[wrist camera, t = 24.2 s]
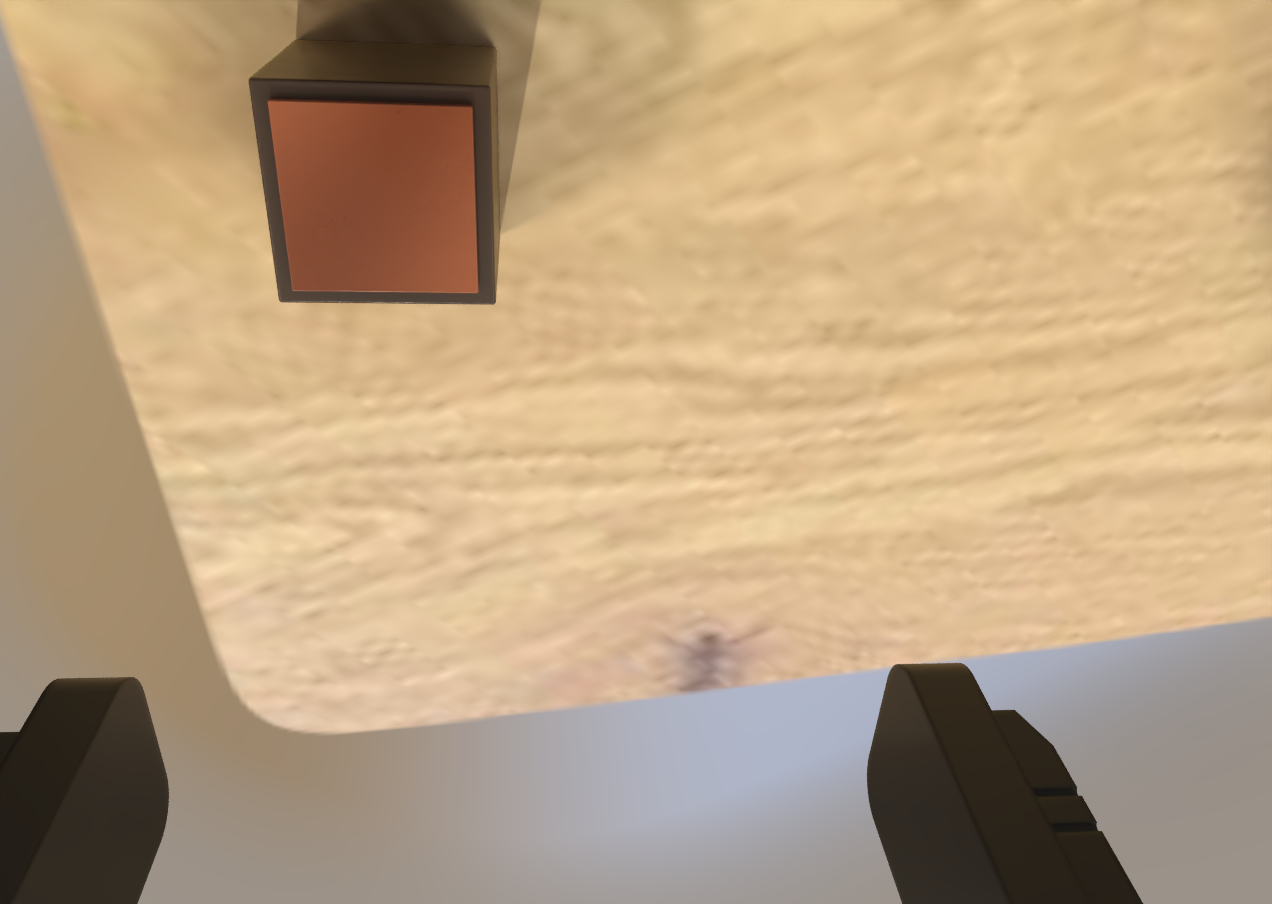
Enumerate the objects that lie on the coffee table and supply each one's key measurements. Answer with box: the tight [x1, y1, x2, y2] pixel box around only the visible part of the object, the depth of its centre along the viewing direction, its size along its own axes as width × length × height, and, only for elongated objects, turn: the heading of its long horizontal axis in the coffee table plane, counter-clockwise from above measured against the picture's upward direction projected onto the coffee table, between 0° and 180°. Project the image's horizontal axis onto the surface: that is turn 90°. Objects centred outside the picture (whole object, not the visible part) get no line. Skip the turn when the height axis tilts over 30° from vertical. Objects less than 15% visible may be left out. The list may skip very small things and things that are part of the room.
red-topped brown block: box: [249, 40, 500, 304], centre depth 22 cm, size 4×4×5 cm
